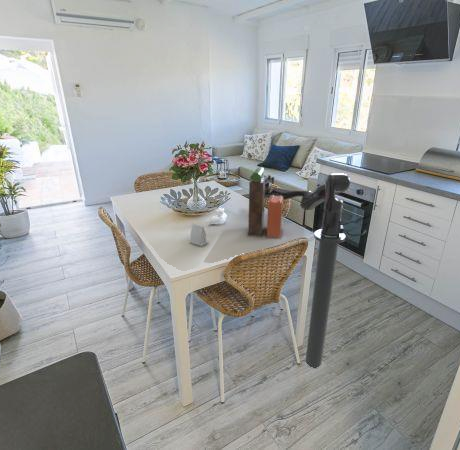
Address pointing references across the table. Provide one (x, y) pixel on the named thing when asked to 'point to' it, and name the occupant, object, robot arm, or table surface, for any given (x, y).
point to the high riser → (256, 207)
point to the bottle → (257, 174)
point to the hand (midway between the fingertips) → (261, 176)
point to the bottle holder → (274, 216)
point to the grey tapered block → (198, 235)
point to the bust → (218, 217)
